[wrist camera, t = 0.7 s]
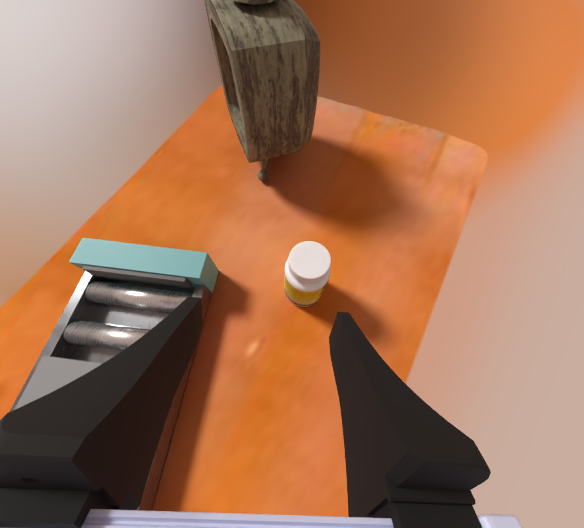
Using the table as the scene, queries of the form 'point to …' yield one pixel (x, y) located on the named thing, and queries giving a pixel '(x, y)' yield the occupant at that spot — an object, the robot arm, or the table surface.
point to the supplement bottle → (307, 273)
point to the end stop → (145, 264)
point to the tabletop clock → (267, 73)
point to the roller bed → (106, 354)
